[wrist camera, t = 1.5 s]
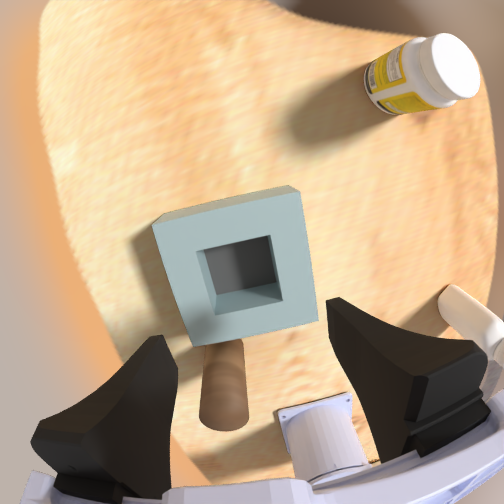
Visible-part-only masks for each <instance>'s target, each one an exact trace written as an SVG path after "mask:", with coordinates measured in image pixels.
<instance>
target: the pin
mask: <svg viewBox="0 0 504 504" xmlns="http://www.w3.org/2000/svg"><path fill="white" fill-rule="evenodd" d="M199 419H200V421H201V422H202V423H203V424H204V425H205V426H206V427H208V428H210V429H213V430H217V431H233V430H237V429H239V428H242V427H243V426H244V425H246V423H247V422H248V420H249V410H248V398H247V386H246V373H245V361H244V347H243V342H242V340H241V338H240V339H235V340H229V341H224V342H219V343H213V344H207V345H206V348H205V357H204V367H203V377H202V388H201V399H200V410H199Z"/></svg>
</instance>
